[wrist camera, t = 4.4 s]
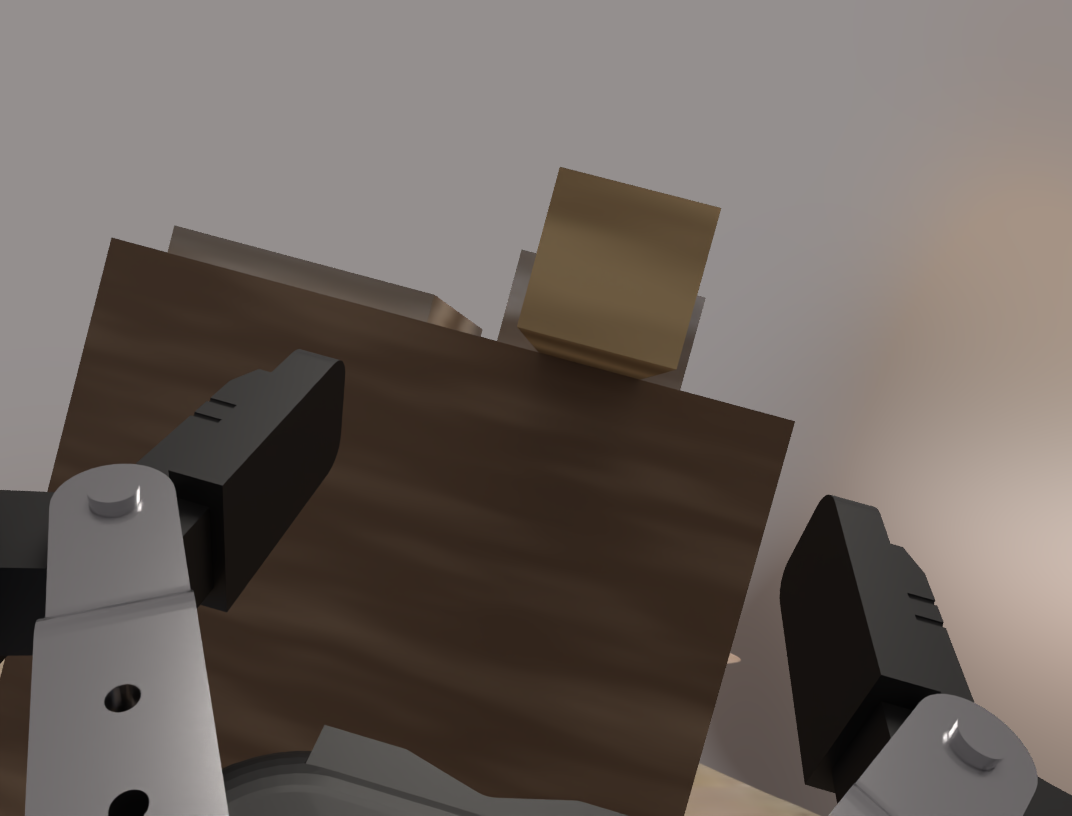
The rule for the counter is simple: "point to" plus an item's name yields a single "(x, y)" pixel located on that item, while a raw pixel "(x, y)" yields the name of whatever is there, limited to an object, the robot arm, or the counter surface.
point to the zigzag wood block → (442, 533)
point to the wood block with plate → (613, 279)
